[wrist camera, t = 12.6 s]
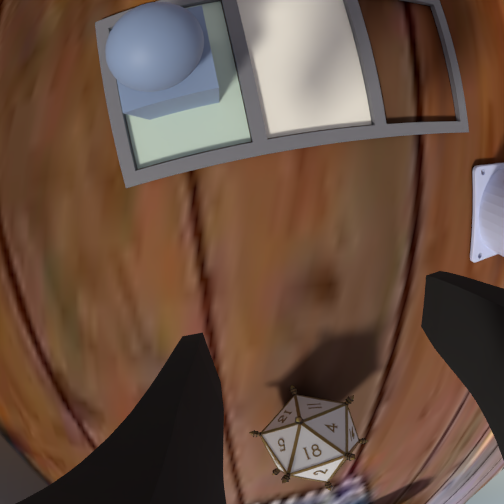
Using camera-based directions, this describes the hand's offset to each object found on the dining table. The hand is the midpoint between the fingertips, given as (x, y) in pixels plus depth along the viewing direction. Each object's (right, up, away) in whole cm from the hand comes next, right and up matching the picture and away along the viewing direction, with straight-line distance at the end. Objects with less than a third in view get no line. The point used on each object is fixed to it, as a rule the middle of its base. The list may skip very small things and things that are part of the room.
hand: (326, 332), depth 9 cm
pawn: (-6, +12, +6) cm, 15 cm away
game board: (+1, +14, +6) cm, 15 cm away
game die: (+2, -11, +16) cm, 19 cm away
